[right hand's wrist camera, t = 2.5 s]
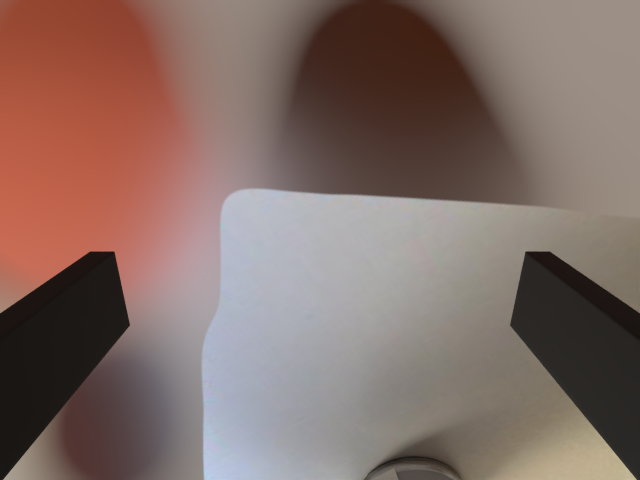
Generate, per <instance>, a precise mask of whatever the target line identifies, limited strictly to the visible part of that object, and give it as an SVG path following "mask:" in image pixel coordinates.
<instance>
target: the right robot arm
mask: <svg viewBox="0 0 640 480" xmlns="http://www.w3.org/2000/svg"><path fill="white" fill-rule="evenodd" d="M129 326H130V324H129V319H128V314H127V310H126V305H125V300H124V295H123V290H122V286H121V281H120V276H119V271H118V267H117V262H116V257H115V253H114V252H89V253H88V254H86V255H85V256H83V257H82V258H80V259H79V260H77V261H76V262H75V263H73V264H72V265H70V266H69V267H67V268H66V269H64V270H63V271H61V272H60V273H58V274H57V275H56V276H54V277H53V278H51V279H50V280H48V281H47V282H45V283H44V284H43V285H41V286H40V287H38V288H37V289H35V290H34V291H32V292H31V293H29V294H28V295H26V296H25V297H24V298H22V299H21V300H19V301H18V302H16V303H15V304H13V305H12V306H10V307H9V308H7V309H6V310H5V311H3V312H2V313H0V480H3V479H4V478H5V477H6V475H7V474H8V473H9V472H10V471H11V469H12V468H13V467H14V466H15V464H16V463H17V462H18V461H19V460H20V458H21V457H22V456H23V455H24V453H25V452H26V451H27V450H28V449H29V447H30V446H31V445H32V444H33V443H34V441H35V440H36V439H37V438H38V436H39V435H40V434H41V433H42V432H43V430H44V429H45V428H46V427H47V426H48V424H49V423H50V422H51V421H52V419H53V418H54V417H55V416H56V415H57V413H58V412H59V411H60V410H61V408H62V407H63V406H64V405H65V404H66V402H67V401H68V400H69V399H70V398H71V396H72V395H73V394H74V393H75V391H76V390H77V389H78V388H79V387H80V385H81V384H82V383H83V382H84V380H85V379H86V378H87V377H88V376H89V374H90V373H91V372H92V371H93V369H94V368H95V367H96V366H97V365H98V363H99V362H100V361H101V360H102V359H103V357H104V356H105V355H106V354H107V353H108V351H109V350H110V349H111V348H112V346H113V345H114V344H115V343H116V342H117V340H118V339H119V338H120V337H121V335H122V334H123V333H124V332H125V331H126V329H127V328H128V327H129ZM510 326H511V327H512V328H513V329H514V331H515V332H516V333H517V334H518V335H519V337H520V338H521V339H522V340H523V342H524V343H525V344H526V345H527V346H528V348H529V349H530V350H531V351H532V353H533V354H534V355H535V356H536V357H537V359H538V360H539V361H540V362H541V363H542V365H543V366H544V367H545V368H546V370H547V371H548V372H549V373H550V374H551V376H552V377H553V378H554V379H555V380H556V382H557V383H558V384H559V385H560V387H561V388H562V389H563V390H564V391H565V393H566V394H567V395H568V396H569V398H570V399H571V400H572V401H573V402H574V404H575V405H576V406H577V407H578V408H579V410H580V411H581V412H582V413H583V415H584V416H585V417H586V418H587V419H588V421H589V422H590V423H591V424H592V426H593V427H594V428H595V429H596V430H597V432H598V433H599V434H600V435H601V436H602V438H603V439H604V440H605V441H606V443H607V444H608V445H609V446H610V447H611V449H612V450H613V451H614V452H615V454H616V455H617V456H618V457H619V458H620V460H621V461H622V462H623V463H624V464H625V466H626V467H627V468H628V469H629V471H630V472H631V473H632V474H633V475H634V477H635V478H636V479H637V480H640V313H638V312H637V311H635V310H634V309H633V308H631V307H630V306H628V305H627V304H625V303H624V302H622V301H621V300H619V299H618V298H616V297H615V296H614V295H612V294H611V293H609V292H608V291H606V290H605V289H603V288H602V287H600V286H599V285H598V284H596V283H595V282H593V281H592V280H590V279H589V278H587V277H586V276H584V275H583V274H582V273H580V272H579V271H577V270H576V269H574V268H573V267H571V266H570V265H568V264H567V263H566V262H564V261H563V260H561V259H560V258H558V257H557V256H555V255H554V254H552V253H551V252H525V257H524V262H523V267H522V271H521V276H520V281H519V286H518V290H517V295H516V300H515V305H514V309H513V314H512V319H511V324H510ZM365 480H460V478H459V476H458V475H457V474H456V473H455V471H453V470H452V469H451V468H450V467H448V466H447V465H445V464H443V463H441V462H438V461H436V460H432V459H427V458H416V457H415V458H403V459H398V460H394V461H391V462H388V463H386V464H384V465H382V466H380V467H378V468H377V469H375V470H374V471H372V472H371V473H370V474H369V475H368V476H367V477H366V478H365Z"/></svg>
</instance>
